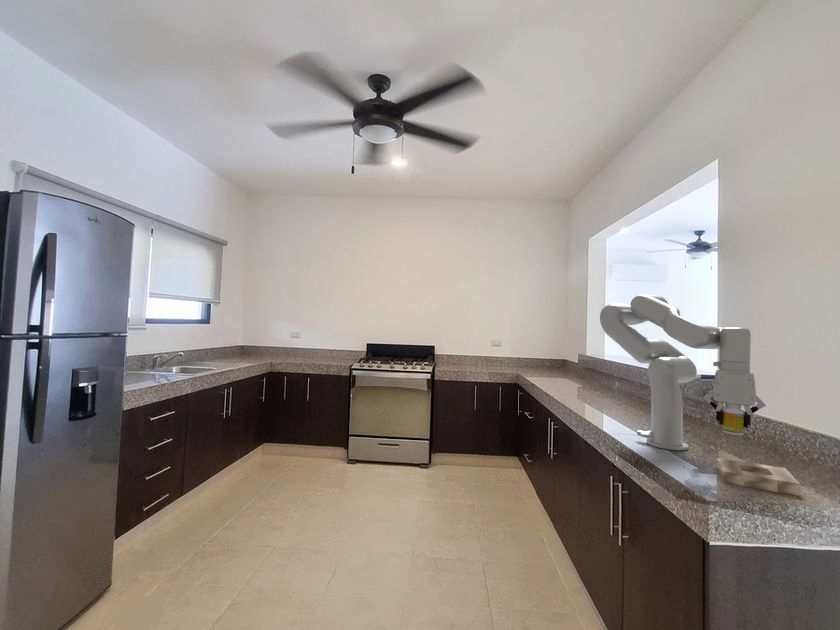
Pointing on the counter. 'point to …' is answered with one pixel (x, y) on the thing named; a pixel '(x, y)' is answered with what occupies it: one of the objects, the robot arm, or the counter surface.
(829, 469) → the counter surface
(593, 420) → the counter surface
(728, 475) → the socket board
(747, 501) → the counter surface
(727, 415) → the supplement bottle
